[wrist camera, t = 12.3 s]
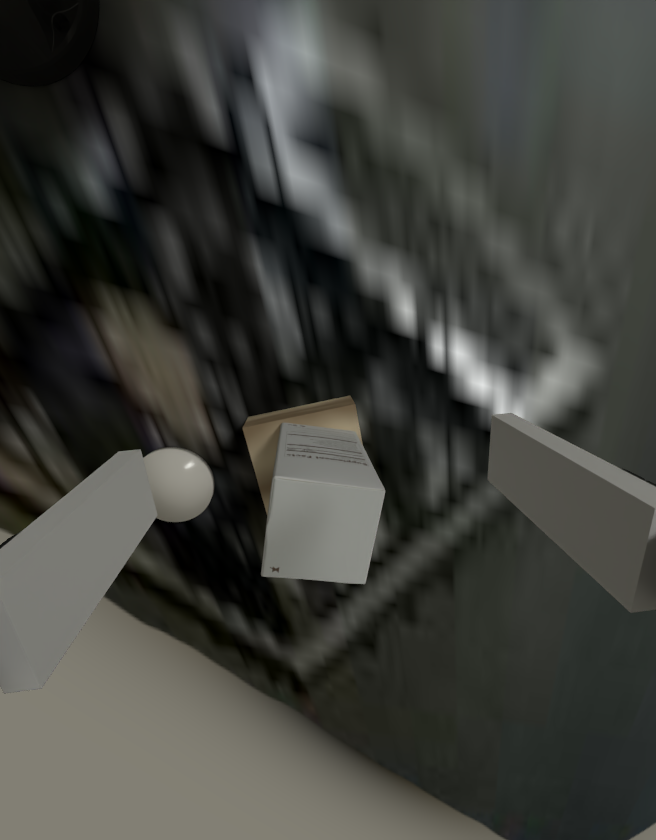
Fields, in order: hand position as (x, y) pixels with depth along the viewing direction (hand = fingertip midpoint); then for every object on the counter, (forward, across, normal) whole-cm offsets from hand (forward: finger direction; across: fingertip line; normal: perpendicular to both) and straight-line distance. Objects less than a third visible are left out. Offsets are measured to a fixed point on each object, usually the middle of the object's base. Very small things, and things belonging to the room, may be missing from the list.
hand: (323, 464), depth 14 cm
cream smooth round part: (+31, -18, -15) cm, 39 cm away
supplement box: (+27, 0, -12) cm, 29 cm away
